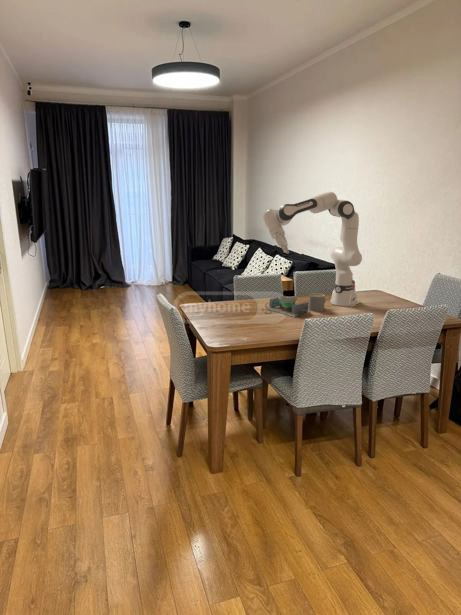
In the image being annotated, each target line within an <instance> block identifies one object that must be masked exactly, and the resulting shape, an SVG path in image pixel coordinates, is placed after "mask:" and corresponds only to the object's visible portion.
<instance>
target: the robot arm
mask: <svg viewBox="0 0 461 615" xmlns="http://www.w3.org/2000/svg"><path fill="white" fill-rule="evenodd" d="M308 211H309V212H310V213H312V214H319V213H322V212H325V211H328V212H329V214H330V215H331V216H333V217H337V218H340V219H341V227H340V228H341V229H340V236H339V238H340V242H341V243H342V246H339V247H335V248H333V249H332V250H331V254H330V256H331V259H332V261H333V262H334V266H335V283H334V287H333V288H334V289H333V290H332V293H331V294H332V295H331V298H330V300H329V302H330V303H331V304H332V305H333V306H334V305H335V306H339V307H355V306H357V305H358V304H360V303H361V301H360V300H358V294H357V292H355V291H354V290H353V289H354V288H355V287H356V285H355V284H353V272H352V270H351V267H357V266H359V265H360V264H361V263H362V261H363V256H362V253H361V252H360V250H359V246H358V233H359V224H360V223H359V222H360V219H359V218H360V217H359V213H358V212H357V211H355V206H354V205H353V203H352V202H351V201H349V200H345V199H338V196H337V195H336V193H334V192H332V191H328V192H324V193H320V194H317V195H315V196H312V197H310V198H309V199H306V200H303V201H299V202H297V203H284V204H283V205H281V206H280V207H279V209H274V208H269V209H267V210H266V211H265V212H264V213H263V215H262V217H263V218H262V219H263V221H264V224H265V226H266V228H267V229H268V232H269V234H270V237H271V239H272V240H275V242H276V244H277V246H278V247H280V248H281V249H282V251H283V253H285V254H289V253H290V251H289V248H288V247H289V243H288V241H287V238H286V236H285V235H286V233H285V230H284V228H283V227H284V226H286V225H288V224H290V223H291V221H292V219H293V218H294V217H295V216H296V215H298V214H301V213H303V212H308ZM356 304H357V305H356Z"/></svg>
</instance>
